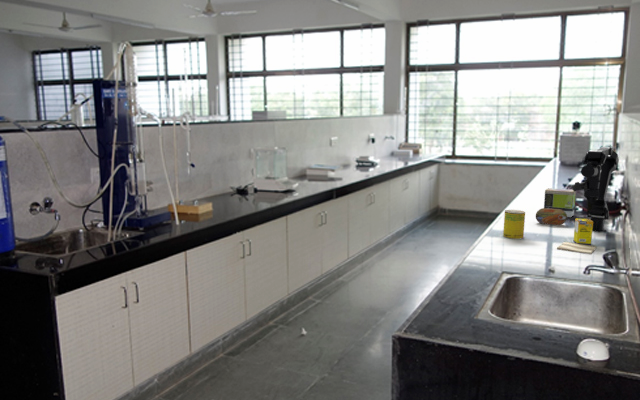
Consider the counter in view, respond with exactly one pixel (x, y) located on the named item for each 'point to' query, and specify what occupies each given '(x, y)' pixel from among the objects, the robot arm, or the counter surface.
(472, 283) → the counter surface
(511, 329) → the counter surface
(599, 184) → the robot arm
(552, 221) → the tin
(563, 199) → the tea box
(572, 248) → the birch board
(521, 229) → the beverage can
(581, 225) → the supplement box
